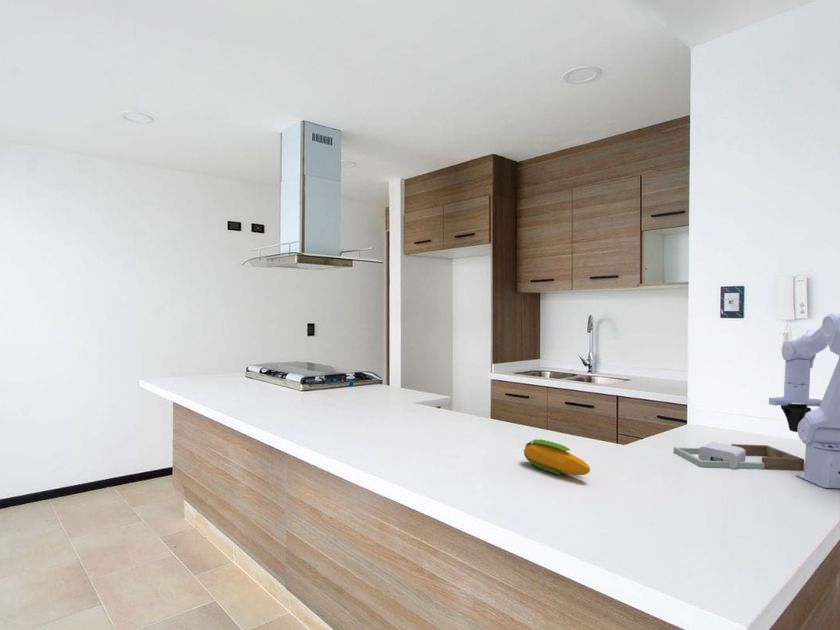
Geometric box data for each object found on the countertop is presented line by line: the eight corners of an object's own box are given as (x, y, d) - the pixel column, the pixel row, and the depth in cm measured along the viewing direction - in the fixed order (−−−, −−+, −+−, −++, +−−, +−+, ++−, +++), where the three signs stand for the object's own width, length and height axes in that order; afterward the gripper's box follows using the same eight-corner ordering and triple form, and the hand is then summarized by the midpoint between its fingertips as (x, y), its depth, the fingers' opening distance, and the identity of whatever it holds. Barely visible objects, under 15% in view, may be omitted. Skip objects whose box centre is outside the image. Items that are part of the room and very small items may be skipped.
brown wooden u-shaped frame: (803, 470, 137) (804, 459, 137) (764, 469, 137) (764, 458, 136) (766, 455, 151) (767, 445, 151) (730, 454, 151) (731, 444, 150)
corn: (536, 431, 137) (600, 450, 121) (536, 459, 137) (600, 481, 121) (517, 436, 133) (581, 456, 116) (517, 465, 133) (581, 488, 117)
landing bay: (764, 469, 137) (764, 463, 137) (700, 467, 136) (701, 461, 136) (730, 454, 151) (731, 449, 150) (673, 452, 150) (673, 447, 150)
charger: (751, 461, 145) (735, 471, 135) (716, 453, 152) (698, 462, 142) (752, 444, 145) (736, 453, 135) (716, 438, 152) (698, 445, 142)
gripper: (809, 382, 146) (807, 428, 147) (761, 380, 146) (759, 427, 146) (830, 385, 139) (828, 434, 139) (780, 384, 139) (778, 433, 139)
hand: (794, 431), depth 142 cm, fingers closed
